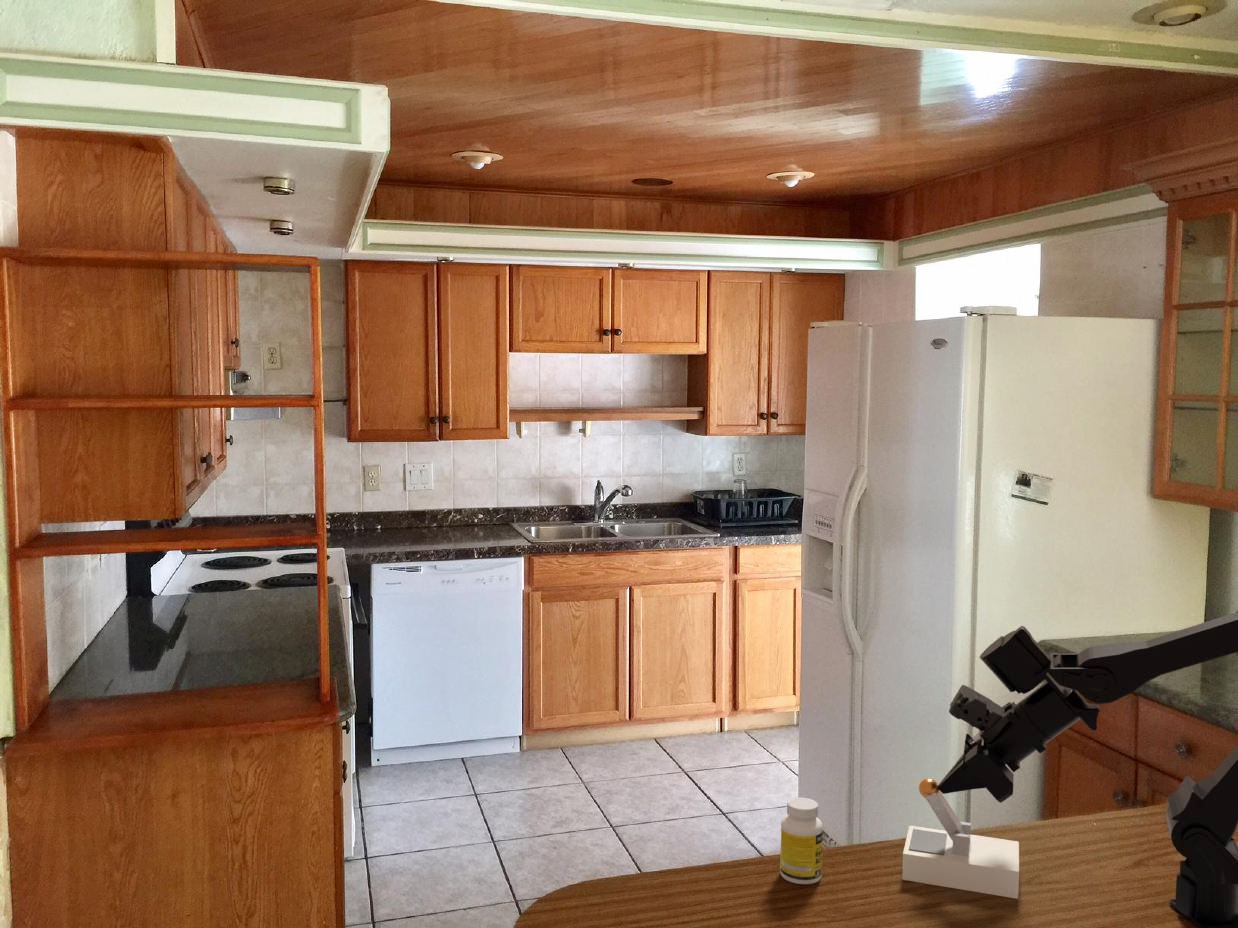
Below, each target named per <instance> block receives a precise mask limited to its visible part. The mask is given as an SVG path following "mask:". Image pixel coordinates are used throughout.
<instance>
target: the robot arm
mask: <svg viewBox="0 0 1238 928" xmlns="http://www.w3.org/2000/svg"><path fill="white" fill-rule="evenodd" d="M1235 653H1238V611H1236V612H1233V613H1230V614H1226V615H1224V616H1221V617H1218V618H1214V619H1212V620H1211V619H1210V620H1208V621H1204V622H1201V623H1198V624H1196V625H1192V626H1190V627H1186V628H1182V629H1179V630H1176V631H1174V632H1169V633H1168V634H1164V635H1161V636H1157V637H1154V638H1152V639H1147V640H1145V641H1137V642H1136V641H1135V642H1115V643H1109V644H1101V645H1096V646H1095V645H1094V646H1089V647H1087V648H1084V649H1083V650H1081V651H1079V653H1078V652H1076V653H1073V652H1072V653H1050V654H1048V653H1047V652H1046V650H1045V649H1044V648H1043V647H1042V646H1041V645H1040V644H1039V643H1038V642H1037V641H1036V640H1035V638H1034V637H1033V635H1032V634H1031V632H1030V631H1029V630H1028V629H1027V628H1026V626H1024V625H1020V626H1019V627H1017V629H1015V630H1012V631H1010V632H1008V633H1007V634H1005V635H1004V636H1003V635H1000V637H998V638H997V639H996V640H995V641H994V642H992V643H991V644H989V646H988V647H987V648H985V650H983V651H982V652H981V654H980V656H979V659H980V660H981V661H982V662H983V663H984V665H986V666H987V668H988V669H989V670H990V671H991V672H992V673H993V674H994V676H995V677H997V678H998V680H999V681H1000V682H1001V683H1002V685H1004V687H1005V688H1007V690H1008V691H1009V692H1010V693H1014V692H1016V693H1017V694H1018V695H1020V694H1023V695H1025V694H1027V693H1029V692H1030V691H1032V690H1034V689H1035V688H1036V687H1037V686H1039V685H1040V684H1042V682H1044V681H1046V682H1044V683H1043V684H1042V685H1040V686H1039V687H1038V688H1036V689H1035V690H1034V691H1033V692H1031V693H1029V694H1028V695H1027V696H1026V697H1024V698H1023V699H1022V700H1020V701H1019V702H1018V703H1017V704H1016V703H1015V701H1012V702H1010V701H1008V702H1007V703H1006V704H1004V705H1003V706H1001V705H999V704H997V703H996V702H995V701H993V700H992V699H990V698H989V697H987V696H985V695H983V694H982V693H980V692H978V691H976V690H974V688H971V687H969V686H968V685H964V684H962V685H961V686H960V687H959V689H958V691H957V692H956V694H955V696H954V698H953V699H952V701H951V702H950V704H949V706H950V707H949V709H948V712H949V714H950V715H951V716H952V717H954V718H955V719H957V720H961V721H964V722H965V723H967V724H969V725H970V726H971V727H972V728H975V729H977V730H978V733H977V734H975V735H974V736H973V737H971V735H970V734H969V733H966V734H965V739H964V744H963V745H964V747H963V753H962V754H961V756H960V757H959V758H958V760H957V761H956V762H955V764H954V765H953V766H952V767H951V769H949V771H948V772H947V774H946V775H945V776H944V777H943V779H941V781H940V782H939V783H938V785H939V786H938V789H939V790H940V791H941V793H942V794H943V795H944V794H945V795H946V794H951V793H959V792H965V791H971V790H972V791H973V790H979V789H986V790H987V791H988V792H989V793H990V794H991V796H993V798H994V799H995V800H996V801H997V802H998V803H1000V804H1001V803H1003V802H1004V801H1006V800H1007V799H1009V798H1010V797H1012V796H1013V795H1014V773H1015V772H1016V771H1018V770H1019V769H1020V768H1021V762H1023V761H1024V760H1025V759H1027V758H1028V757H1030V756H1031V755H1032V754H1033V753H1035V752H1036V751H1037V752H1038V753H1039V754H1042V753H1043V752H1044V751H1045V750H1047V743H1049V742H1050V741H1051V740H1053V739H1055V737H1057V736H1058V735H1060V734H1061V733H1062V732H1065V730H1067V729H1068V728H1070V727H1072V725H1074V724H1075V723H1076V722H1078V721H1080V720H1082V721H1083V723H1084V724H1085V725H1086V726H1087V727H1088V728H1089V729H1090V730H1091V731H1093V732H1095V731H1097V730H1098V717H1099V714H1100V707H1099V705H1104V704H1105V705H1107V704H1111V703H1113V702H1114V703H1115V702H1116V701H1118V700H1120V699H1122V698H1123V697H1126V696H1128V695H1130V694H1132V693H1134V692H1136V691H1138V690H1139V689H1140V688H1142V687H1143V686H1144V685H1146V684H1147V683H1149V682H1151V681H1152V680H1155V679H1156V678H1158V677H1160V676H1162V675H1166V674H1169V673H1172V672H1176V671H1179V670H1182V669H1186V668H1189V667H1192V666H1193V667H1194V666H1195V665H1198V664H1203V663H1206V662H1209V661H1212V660H1213V661H1214V660H1216V659H1219V658H1223V657H1226V656H1229V655H1232V654H1235ZM1085 699H1086V700H1088V701H1090V702H1092V703H1090V702H1087V701H1086V700H1085ZM1166 801H1167V808H1166V812H1165V819H1166V822H1167V823H1166V824H1167V826H1168V829H1169V830H1168V831H1169V834H1170V835H1169V836H1170V839H1171V842H1172V843H1171V844H1172V845H1173V847H1174V848H1175V850H1176V851H1177V852H1178V853H1179V854H1180V855H1181V856H1182V857H1184V858H1185V860H1180V861H1179V874H1176V882H1175V898H1170V899H1169V904H1170V906H1172V907H1174V909H1176V910H1177V911H1179V913H1181V914H1182V915H1184V916H1185V917H1186V918H1187V919H1189V920H1190V921H1191V922H1192V923H1194V924H1195V925H1196V926H1198V927H1199V928H1238V844H1237V841H1236V839H1235V838H1234V837H1233V836H1234V834H1235V832H1236V830H1237V827H1238V743H1237V744H1236V745H1235V747H1234V748H1233V749H1232V750H1231V751H1230V752H1229V754H1228V755H1227V756H1226V757H1225V758H1224V760H1223V761H1222V762H1221V763H1220V765H1218V767H1217V768H1216V770H1215V771H1214V772H1213V773H1212V774H1211V775H1209V776H1207V777H1206V778H1204V779H1202V780H1200V781H1198V782H1196V781H1195V780H1193V778H1191V777H1190V776H1189V775H1186V776H1185V777H1184V778H1183V780H1182V782H1181V783H1180V785H1179V787H1178V789H1177V790H1176V791H1174V793H1173V794H1171V795H1169V796H1167V797H1166Z"/></svg>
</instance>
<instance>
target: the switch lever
mask: <svg viewBox="0 0 1238 928" xmlns="http://www.w3.org/2000/svg"><path fill="white" fill-rule="evenodd" d="M938 786H939V783H938V782H937V781H936V780H934V779H933V778H925V779H922V780H921V782H920V783H919V785H918V791H919V793H920V795H921V796H922V797H923V798H924V799H925V800H926V801H927V803H928V804H929V806H930V808H931V810H932V812H933V813H934V814H935V816H936V817H937V819H938V820H939V823H940V824H941V825H942V827H943V829H944V831H946V832H947V833H948V835H949V836H950V838H951V840H952V841H953V833H960V834H965V833H964V827H963V826H962V824H961V823H960V822H961V820H959V818H958V817H957V815H956V813H955V811H953V809H952V807H951V806H950V804H949V802H948V801H947V799H946V797H945V796H944V794H943V793H942V792H941V791H940V790H939V789H938Z"/></svg>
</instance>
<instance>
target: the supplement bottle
mask: <svg viewBox="0 0 1238 928" xmlns="http://www.w3.org/2000/svg"><path fill="white" fill-rule="evenodd" d="M786 814H787V815H785V816H784V817H782V820H781V823H780V825H781V826H780V856H779V857H780V862H779V865H780V866H779V867H780V868H779V869H780V870H779V872H780V875H781V877H782V878H783V879H784V880H785V881H786V882H789V883H792V884H798V885H811V884H812V885H813V884H816V883H817V882H819V881H820V880H821V879H822V875H823V873H822V872H823V842H824V841H823V838H824V826H823V825H824V824H823V823H822V820H821V819H820V818H818V815H819V803H818V802H817V801H816V800H814V799H812V798H809V797H793V798H790V799H789V800H787V803H786Z"/></svg>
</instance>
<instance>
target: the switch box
mask: <svg viewBox="0 0 1238 928" xmlns="http://www.w3.org/2000/svg"><path fill="white" fill-rule="evenodd" d="M960 823H961V824H962V826H963V827H964V833H965V834H960V833H953V841H952V840H951V838H950V836H949V835H948V833H947V832H946V830H945V829H944V830H942V829H936V828H929V827H922V826H915V825H909V826H908V830H907V835H906V839H905V844H904V848H903V851H902V881H908V882H910V881H911V882H915V883H920V884H925V885H926V884H927V885H933V886H938V887H939V886H940V887H945V888H951V889H957V890H963V891H970V892H975V893H982V894H986V895H987V894H988V895H994V896H997V897H998V896H999V897H1004V898H1010V899H1011V898H1012V899H1016V900H1019V888H1020V887H1019V885H1020V883H1019V882H1020V879H1019V878H1020V856H1019V855H1020V849H1019V847H1020V845H1019V844H1020V842H1019V841H1017V840H1010V839H1006V838H1005V839H1003V838H996V837H991V836H990V837H989V836H983V835H978V834H971V828H972V827H971V826H972V823H971V822H966V821H960Z"/></svg>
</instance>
